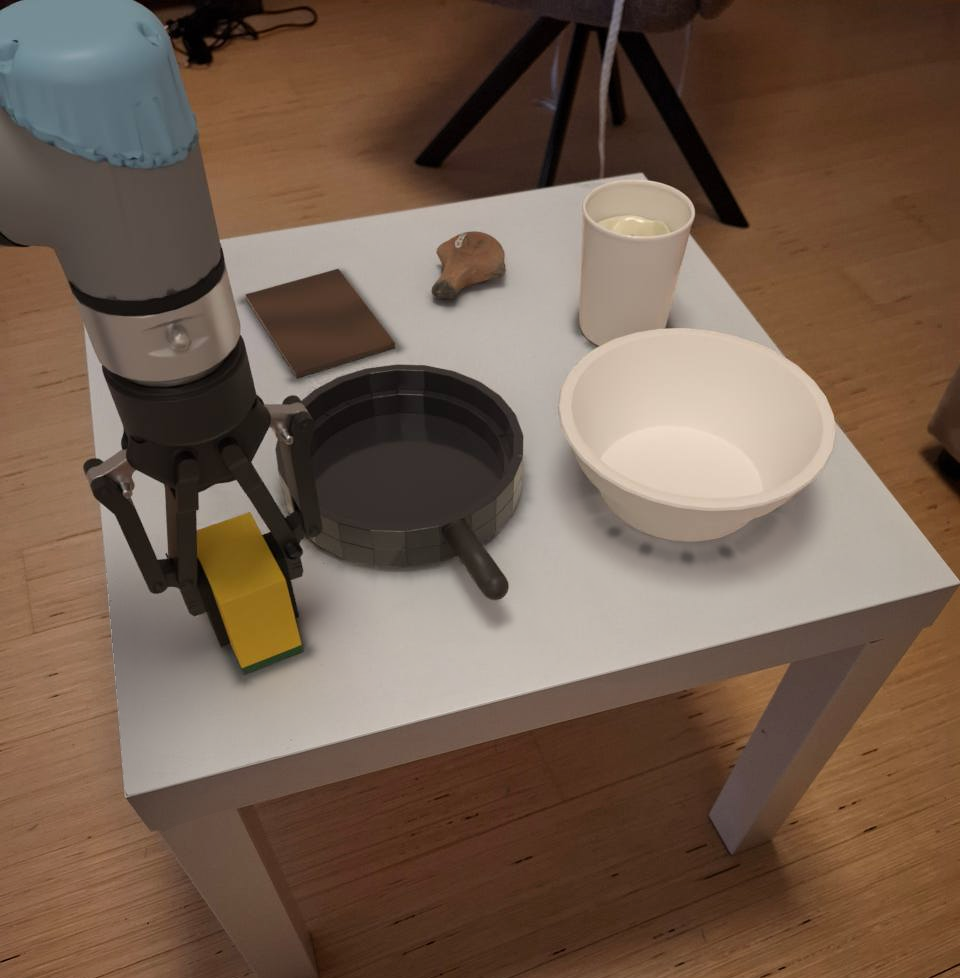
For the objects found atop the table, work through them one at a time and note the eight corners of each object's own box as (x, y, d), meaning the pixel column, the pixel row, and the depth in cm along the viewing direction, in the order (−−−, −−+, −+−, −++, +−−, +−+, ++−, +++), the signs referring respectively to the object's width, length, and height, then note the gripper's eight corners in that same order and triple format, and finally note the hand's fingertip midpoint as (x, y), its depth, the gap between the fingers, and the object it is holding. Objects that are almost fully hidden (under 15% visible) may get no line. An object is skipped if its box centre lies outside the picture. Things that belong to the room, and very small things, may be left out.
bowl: (727, 384, 86) (748, 305, 80) (857, 543, 74) (894, 466, 68) (514, 436, 82) (517, 357, 75) (616, 614, 70) (630, 539, 64)
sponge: (213, 606, 70) (187, 533, 64) (270, 585, 72) (250, 511, 65) (244, 675, 67) (219, 604, 60) (303, 651, 68) (285, 579, 62)
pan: (252, 448, 81) (242, 406, 77) (455, 382, 86) (455, 340, 83) (339, 606, 70) (332, 566, 67) (564, 519, 76) (569, 478, 72)
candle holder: (643, 288, 95) (662, 170, 86) (690, 344, 90) (716, 224, 80) (555, 309, 93) (564, 190, 84) (597, 366, 88) (612, 247, 78)
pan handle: (439, 536, 71) (438, 518, 70) (463, 527, 72) (462, 509, 70) (488, 609, 67) (489, 591, 66) (513, 599, 68) (514, 581, 66)
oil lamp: (413, 275, 98) (440, 318, 94) (406, 240, 95) (434, 283, 90) (492, 247, 99) (522, 288, 95) (488, 212, 96) (519, 253, 91)
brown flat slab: (246, 299, 94) (245, 294, 94) (338, 273, 97) (338, 268, 96) (296, 378, 87) (295, 373, 86) (395, 347, 89) (395, 342, 89)
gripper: (15, 440, 45) (150, 704, 64) (352, 338, 50) (386, 611, 69) (-14, 354, 49) (121, 626, 68) (301, 268, 54) (346, 544, 73)
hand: (254, 618), depth 68 cm, fingers closed on sponge, 4 cm apart
